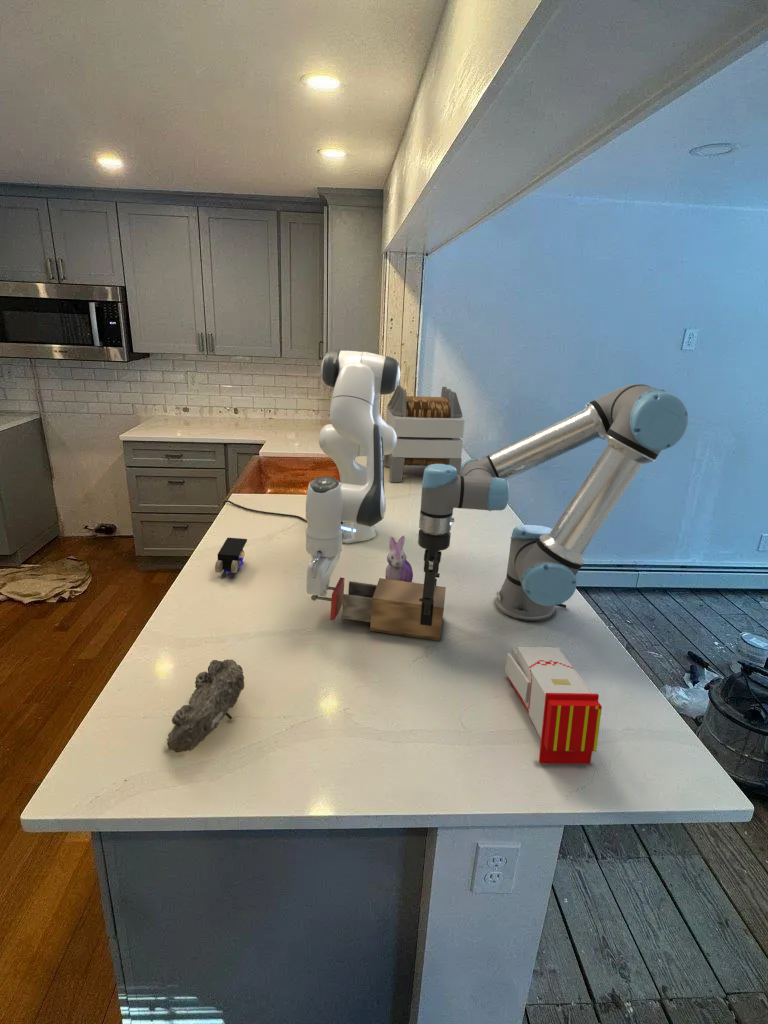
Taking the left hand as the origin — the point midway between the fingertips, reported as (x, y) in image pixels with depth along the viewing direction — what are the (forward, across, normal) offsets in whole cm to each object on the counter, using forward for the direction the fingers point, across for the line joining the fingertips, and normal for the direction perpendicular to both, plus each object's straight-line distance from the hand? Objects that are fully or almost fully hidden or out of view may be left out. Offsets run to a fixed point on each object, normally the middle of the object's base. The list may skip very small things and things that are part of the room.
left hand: (323, 593), depth 143 cm
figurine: (+6, +20, -17) cm, 27 cm away
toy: (+6, -28, -52) cm, 59 cm away
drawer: (+4, 0, -8) cm, 9 cm away
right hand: (+2, 0, -26) cm, 27 cm away
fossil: (+5, -42, +11) cm, 44 cm away
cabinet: (+6, 0, -22) cm, 22 cm away
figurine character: (+6, +19, +33) cm, 38 cm away
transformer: (+9, +140, -12) cm, 141 cm away
